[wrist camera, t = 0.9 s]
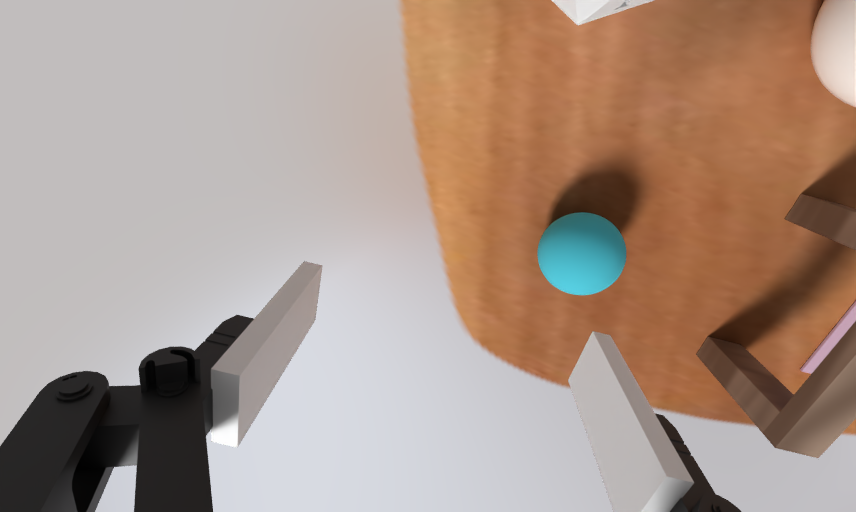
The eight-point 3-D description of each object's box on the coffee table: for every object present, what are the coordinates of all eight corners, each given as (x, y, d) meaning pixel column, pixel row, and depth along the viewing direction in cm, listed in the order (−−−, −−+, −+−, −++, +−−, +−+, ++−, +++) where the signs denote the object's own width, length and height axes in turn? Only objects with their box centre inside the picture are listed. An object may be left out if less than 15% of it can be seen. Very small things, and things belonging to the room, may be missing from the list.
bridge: (696, 354, 35) (775, 447, 26) (801, 193, 29) (951, 244, 20) (728, 362, 35) (818, 458, 26) (840, 203, 29) (1007, 259, 20)
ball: (547, 193, 30) (565, 219, 25) (622, 212, 30) (657, 242, 25) (521, 262, 33) (533, 299, 27) (591, 279, 33) (616, 319, 27)
